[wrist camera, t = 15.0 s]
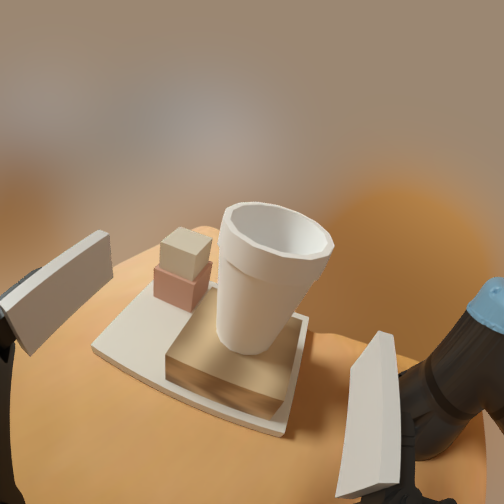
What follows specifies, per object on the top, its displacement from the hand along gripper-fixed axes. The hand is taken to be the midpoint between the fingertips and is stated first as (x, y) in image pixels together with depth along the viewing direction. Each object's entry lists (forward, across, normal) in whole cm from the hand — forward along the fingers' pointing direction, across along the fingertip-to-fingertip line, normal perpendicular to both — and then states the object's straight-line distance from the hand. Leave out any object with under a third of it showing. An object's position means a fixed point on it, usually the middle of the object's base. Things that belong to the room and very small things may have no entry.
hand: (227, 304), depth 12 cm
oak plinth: (+11, 0, -19) cm, 22 cm away
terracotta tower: (+19, -11, -19) cm, 29 cm away
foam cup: (+12, 0, -14) cm, 18 cm away
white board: (+14, -4, -21) cm, 25 cm away
